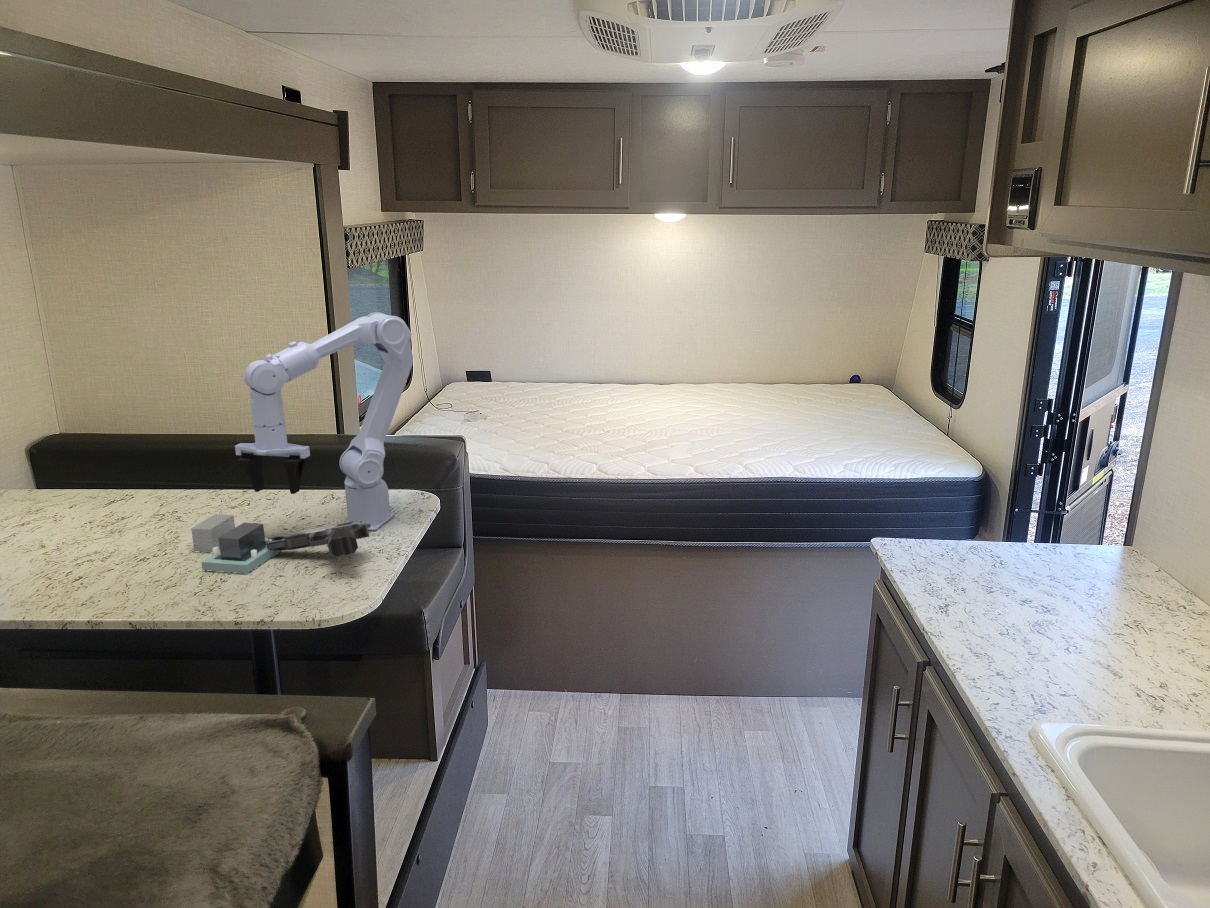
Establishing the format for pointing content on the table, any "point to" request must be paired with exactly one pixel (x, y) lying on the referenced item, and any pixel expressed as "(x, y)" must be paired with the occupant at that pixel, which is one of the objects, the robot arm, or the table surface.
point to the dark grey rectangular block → (242, 542)
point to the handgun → (323, 538)
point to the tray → (237, 566)
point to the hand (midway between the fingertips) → (277, 491)
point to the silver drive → (211, 532)
